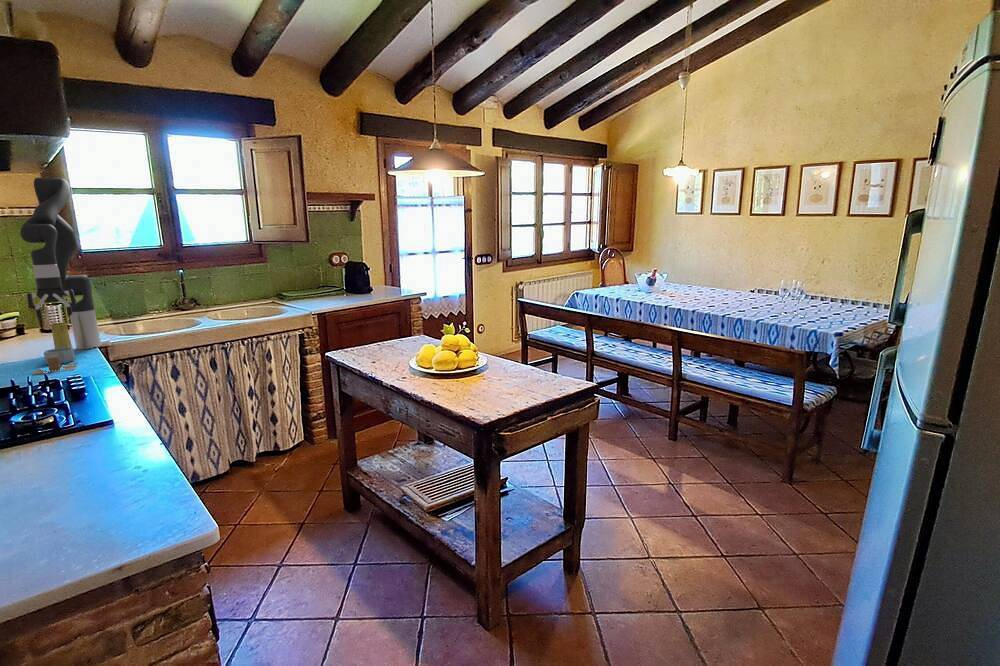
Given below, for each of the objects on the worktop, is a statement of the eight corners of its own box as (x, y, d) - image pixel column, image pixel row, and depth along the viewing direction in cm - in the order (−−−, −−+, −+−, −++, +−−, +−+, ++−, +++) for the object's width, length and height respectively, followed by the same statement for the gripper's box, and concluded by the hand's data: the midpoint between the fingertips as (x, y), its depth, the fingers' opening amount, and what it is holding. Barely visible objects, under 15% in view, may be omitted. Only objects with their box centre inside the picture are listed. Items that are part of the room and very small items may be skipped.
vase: (63, 358, 220) (57, 325, 217) (52, 357, 221) (45, 324, 218) (77, 354, 226) (71, 322, 223) (66, 354, 227) (59, 322, 224)
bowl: (48, 361, 215) (46, 349, 214) (76, 357, 220) (74, 346, 219) (44, 366, 208) (42, 353, 207) (73, 362, 212) (71, 350, 211)
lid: (38, 369, 205) (35, 355, 203) (78, 364, 211) (75, 350, 210) (32, 377, 194) (28, 362, 193) (74, 371, 201) (71, 356, 200)
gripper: (72, 274, 209) (79, 314, 212) (25, 277, 201) (33, 318, 204) (69, 275, 203) (77, 316, 206) (21, 278, 195) (30, 320, 198)
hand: (55, 317), depth 205 cm, fingers open, 8 cm apart
